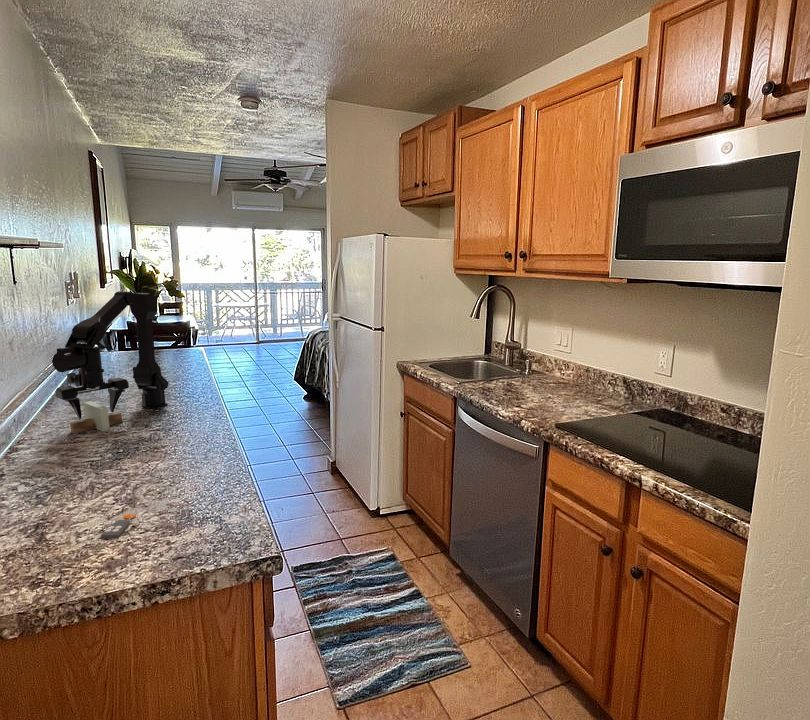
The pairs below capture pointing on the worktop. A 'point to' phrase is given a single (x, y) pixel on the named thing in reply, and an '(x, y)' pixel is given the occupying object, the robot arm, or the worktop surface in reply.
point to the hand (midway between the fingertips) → (96, 415)
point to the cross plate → (97, 415)
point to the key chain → (118, 527)
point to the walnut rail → (88, 423)
